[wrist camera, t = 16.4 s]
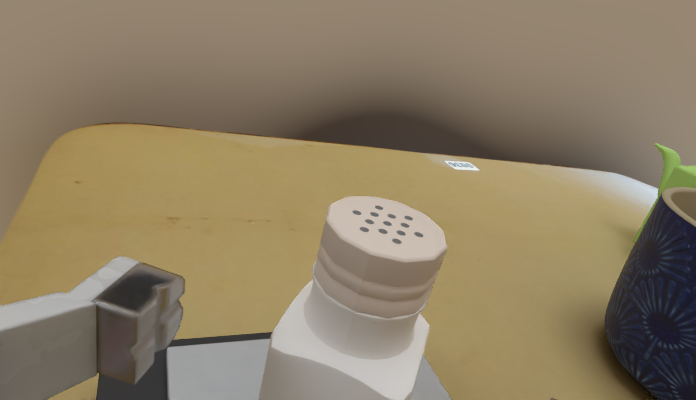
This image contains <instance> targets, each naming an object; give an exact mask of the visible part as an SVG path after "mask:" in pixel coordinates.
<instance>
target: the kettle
mask: <svg viewBox="0 0 696 400" xmlns="http://www.w3.org/2000/svg"><path fill="white" fill-rule="evenodd" d="M654 144H655V145H656V147H657V148H658V149H659V151H660V152H661V154H662V156H663V160H664V169H663V174H662V178H661V182H660V186H659V190H658V198H657V199H656V201H655V203H654V205H653V207H652V208H651V210H650V212H649V214H648V215H647V217H646V219H645V221H644V223H643V224H642V226H641V228H640V230H639V231H638V233H637V235H636V237H635V239H634V240H633V242H634V243H636V241H637V239H638V237H639V236H640V234H641V232H642V230H643V228H644V226H645V224H646V222H647V220H648V218H649V216H650V214H651V212H652V210H653V209H654V207H655V205H656V203H657V201H658V199H659V197H660V195H661V193H662V192H663V191H664V190H665V189H668V188H672V187H687V188H695V189H696V166H681V161H680V158H679V155H678V154H677V153H676V152H675V151H673V150H671V149H669V148H667V147H665V146H662V145H659V144H656V143H654Z"/></svg>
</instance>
